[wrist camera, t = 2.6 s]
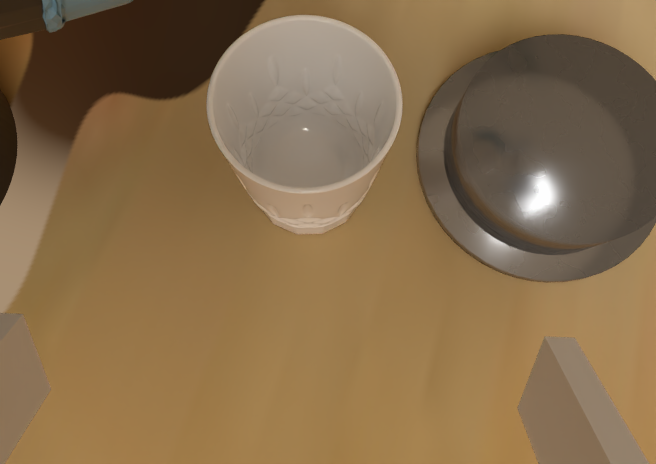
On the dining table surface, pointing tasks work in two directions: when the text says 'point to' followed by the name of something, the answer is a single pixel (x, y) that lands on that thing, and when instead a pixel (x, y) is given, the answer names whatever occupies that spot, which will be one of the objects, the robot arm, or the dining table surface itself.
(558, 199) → the grey round shallow piece
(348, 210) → the white cup
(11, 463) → the dining table surface
